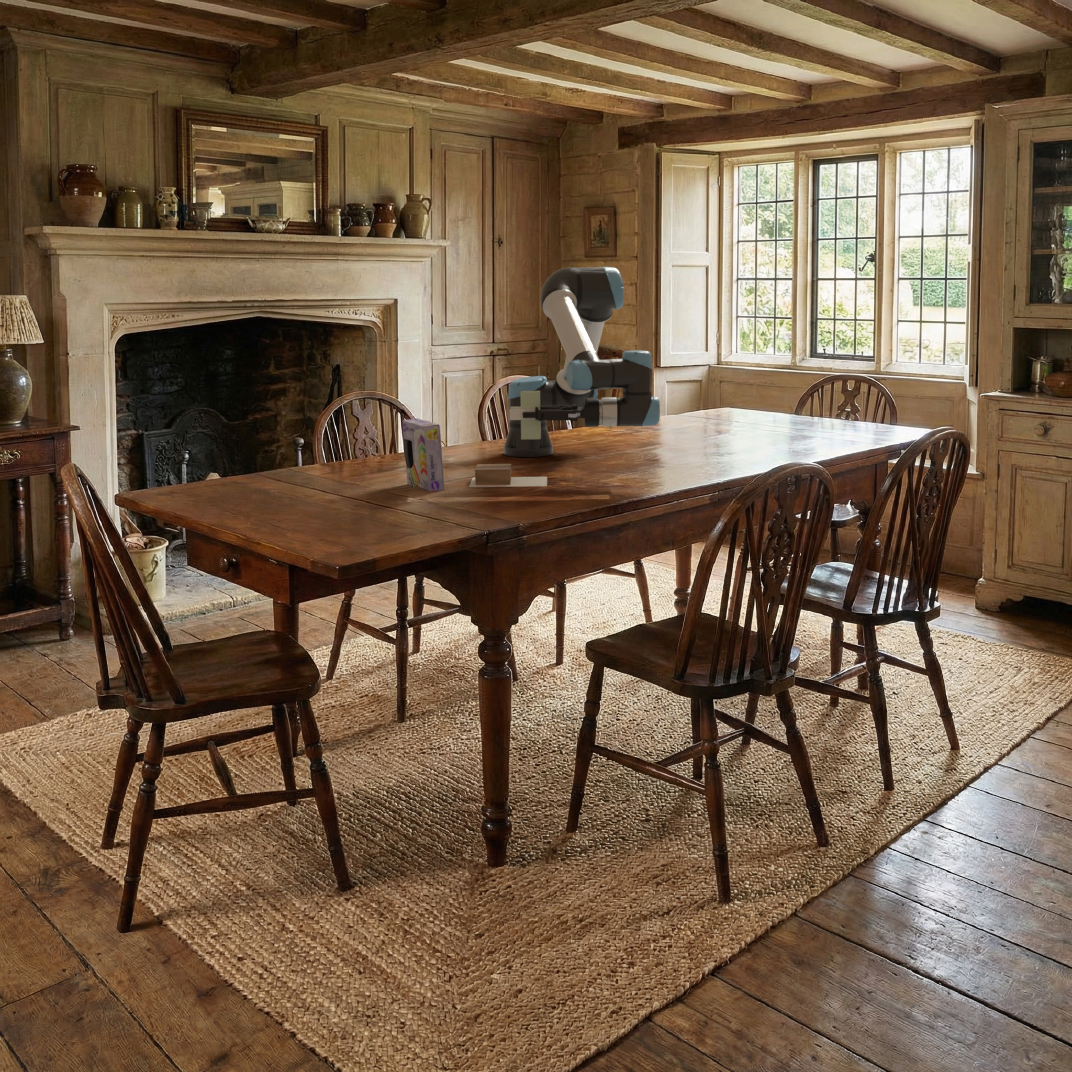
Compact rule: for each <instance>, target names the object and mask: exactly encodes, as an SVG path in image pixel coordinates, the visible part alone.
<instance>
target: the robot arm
mask: <svg viewBox="0 0 1072 1072" xmlns="http://www.w3.org/2000/svg"><path fill="white" fill-rule="evenodd" d="M539 300H540V306H541V309H542V311H543V313H544V315H545V316H546V317H547V318H549V319H550V320H551V323H552V325H553V327H554V330H555V332H556V333H557V334H556V335H557V337H558V339H559V341H560V343H561V345H562V348H563V351H564V353H565V356H566V357H565V360H564V361H565V362H564V365H563V369H560V370H559V371H558V372H557V374H556V378H555V380H554V379H552V380H548V378H547V376H546V375H545V376H544V375H535V376H534V375H533V376H527V377H521V378H517V379H515V380H512V381H510V383H509V385H508V396H507V398H508V423H509V424H508V432H507V436H506V439H505V442H504V446H503V455H505V456H509V457H515V458H516V457H517V458H533V457H534V458H535V457H536V458H537V457H546V456H551V455H552V454H554V447H553V442H552V439H551V437H550V434H549V431H548V430H549V429H548V422H549V421H552V422H553V421H562V422H563V421H565V422H566V421H572V422H577V421H578V419H584V426H585V427H587V428H594V427H595V428H598V427H599V426H600V425H601V427H603V428H604V427H608V429H610V430H611V429H613V428H614V427H641V428H642V427H651V426H652V427H653V426H656V425H658V424H659V422H660V419H661V403H660V398H659V397H657V396H653V391H652V385H653V384H652V383H653V361H652V360H653V359H652V354H651V352H650V351H648V350H642V349H641V350H639V349H638V350H636V349H635V350H634V349H632V350H624V351H623V353H622V357H621V358H612V359H611V358H610V359H600V357H599V355H598V351H599V346H600V344H601V343H600V341H601V340H602V334H603V330H604V327H605V323H606V322H607V321H609V320H610V319H611V318H612V316H613V313H614V310H620V309H622V308H623V305H624V302H625V286H624V282H623V277H622V275H621V272H620V270H619V269H618V268H616V267H614V266H613V267H612V266H603V265H602V267H601V266H599V267H598V266H596V267H595V266H592V267H591V266H586V267H585V266H584V267H579V266H578V267H577V266H576V267H571V266H567V267H563V268H559V269H557V270H555V271H554V272H553V273H551V274H550V275H549V276H548V277H547V278H546V280H545V281H544V283H543V285H542V287H541V291H540V297H539ZM611 389H612V390H613V389H615V390H617V389H622V397H615V396H614V397H613V396H611V397H609V396H608V397H601V398H600V399H599V398H598V396H599V392H598V391H599V390H611ZM521 391H540V410H539V409H538V407H535V409H521V396H520V393H521ZM521 420H538V421H540V422H541V439H521Z"/></svg>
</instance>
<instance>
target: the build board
mask: <svg viewBox="0 0 1072 1072" xmlns="http://www.w3.org/2000/svg"><path fill="white" fill-rule="evenodd" d="M468 487H469V488H498V487H500V488H502V487H504V488H506V487H508V488H510V487H512V488H513V487H514V488H515V487H521V488H522V487H548V476H511V484H510V485H475V476H474V477H472V479H471V481H470V484H469V486H468Z"/></svg>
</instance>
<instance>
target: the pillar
mask: <svg viewBox="0 0 1072 1072" xmlns="http://www.w3.org/2000/svg"><path fill="white" fill-rule="evenodd" d="M520 396H521V409H535V407H538V409H539V410H540V391H521V393H520ZM521 439H541V422H540V421H538V420H521Z"/></svg>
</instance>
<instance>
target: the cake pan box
mask: <svg viewBox="0 0 1072 1072" xmlns="http://www.w3.org/2000/svg"><path fill="white" fill-rule="evenodd" d="M402 432H403V441H404V442H403V451H404V452H403V453H404V459H405V470H406V472H405V473H406V485H408V484H409V485H408V486H410V485H411V486H410V487H412V486H413V488H416V486H417V487H420V488H421V489H423V490H425V491H427V492H438V491H445V479H444V478H445V477H444V466H443V465H444V464H443V463H444V462H443V449H442V436H441V425H440V424H437V423H435V422H432V421H429V420H426V419H421V418H418V417H416V418H409V419H404V420H402Z"/></svg>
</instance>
